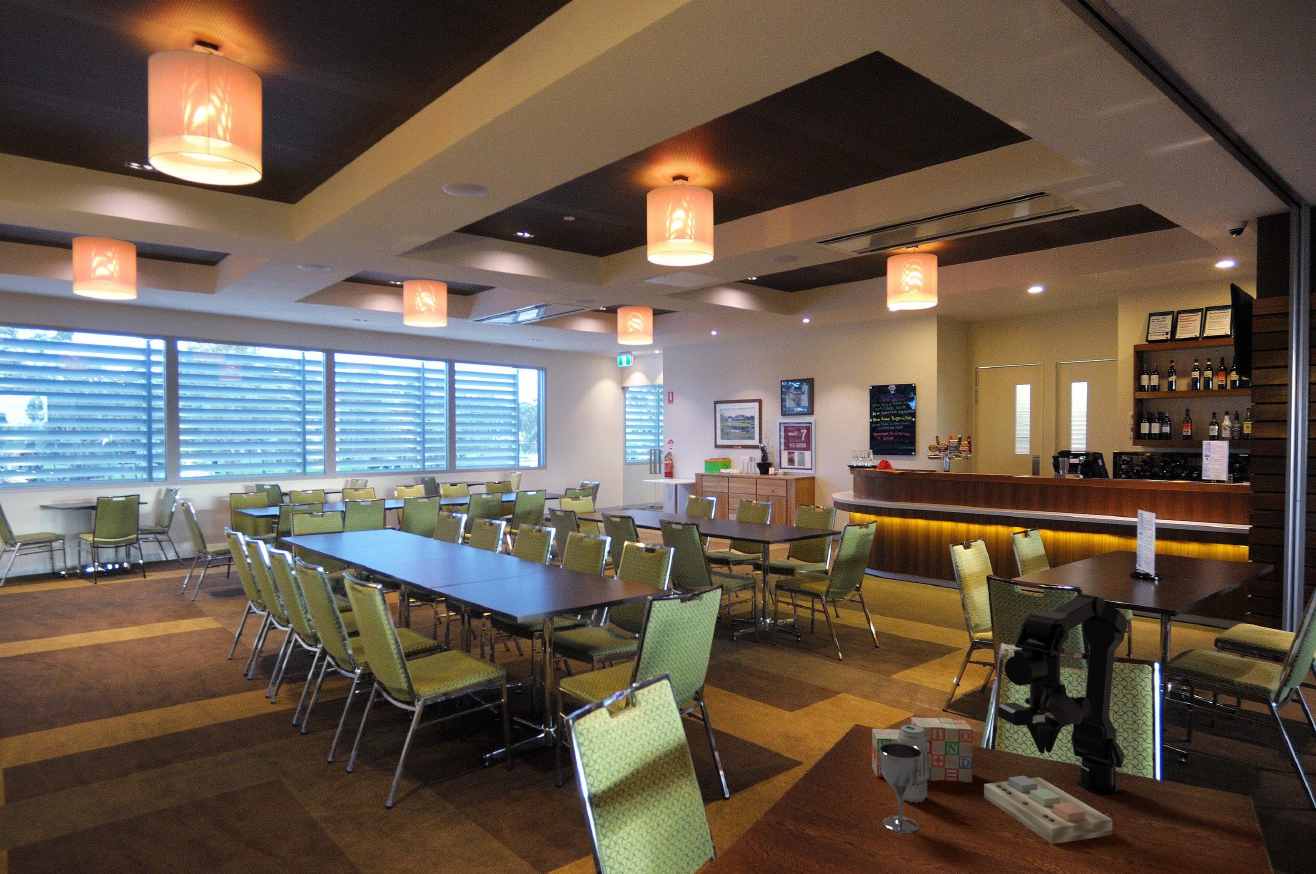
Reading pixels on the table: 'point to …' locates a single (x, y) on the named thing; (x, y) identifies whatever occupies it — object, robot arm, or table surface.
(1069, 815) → the two-dot key
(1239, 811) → the table surface
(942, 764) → the stack of blocks
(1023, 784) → the three-dot key
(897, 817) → the wine glass
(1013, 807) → the key panel
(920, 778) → the energy drink can
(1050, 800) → the one-dot key
